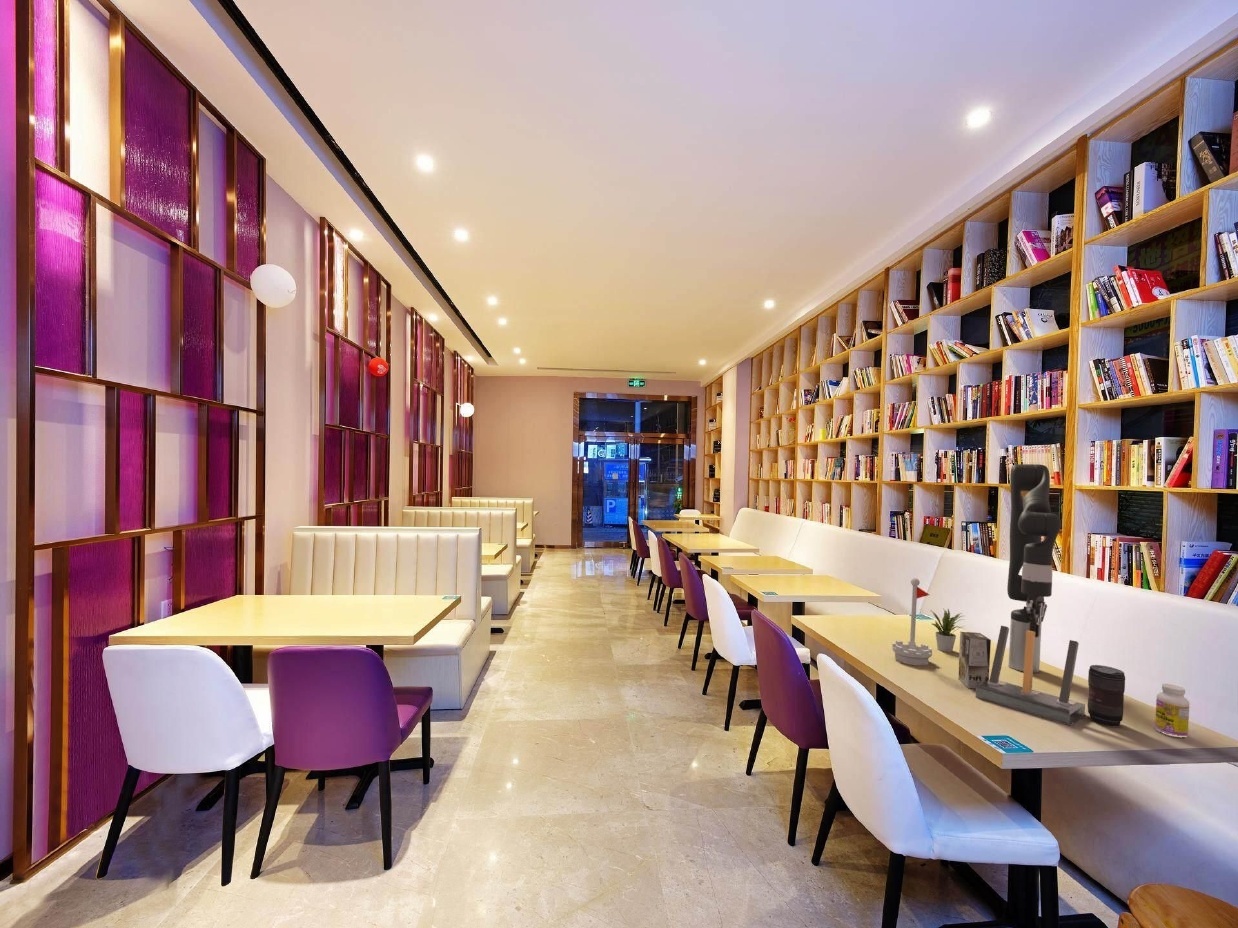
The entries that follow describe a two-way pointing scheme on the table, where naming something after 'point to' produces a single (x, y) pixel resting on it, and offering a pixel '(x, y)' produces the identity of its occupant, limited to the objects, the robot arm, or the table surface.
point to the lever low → (998, 657)
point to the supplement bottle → (1172, 711)
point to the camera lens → (1106, 695)
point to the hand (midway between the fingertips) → (1034, 636)
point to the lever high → (1068, 674)
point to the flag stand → (913, 636)
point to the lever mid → (1028, 664)
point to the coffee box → (974, 659)
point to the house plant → (946, 631)
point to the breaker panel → (1031, 702)
